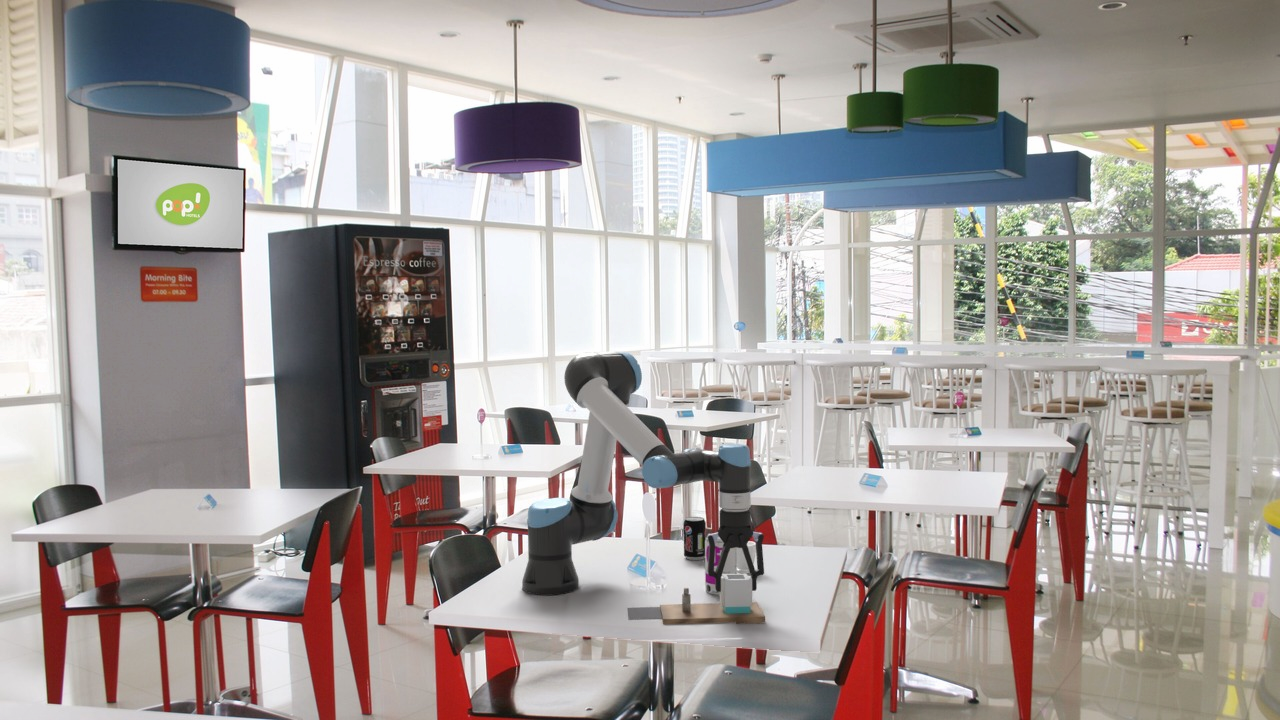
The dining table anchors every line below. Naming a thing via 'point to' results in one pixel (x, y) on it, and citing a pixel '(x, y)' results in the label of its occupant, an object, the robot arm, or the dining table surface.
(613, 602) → the dining table surface
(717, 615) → the pinboard
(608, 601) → the dining table surface
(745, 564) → the cup
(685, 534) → the beverage can
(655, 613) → the mat
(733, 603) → the sleeve
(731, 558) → the supplement can
